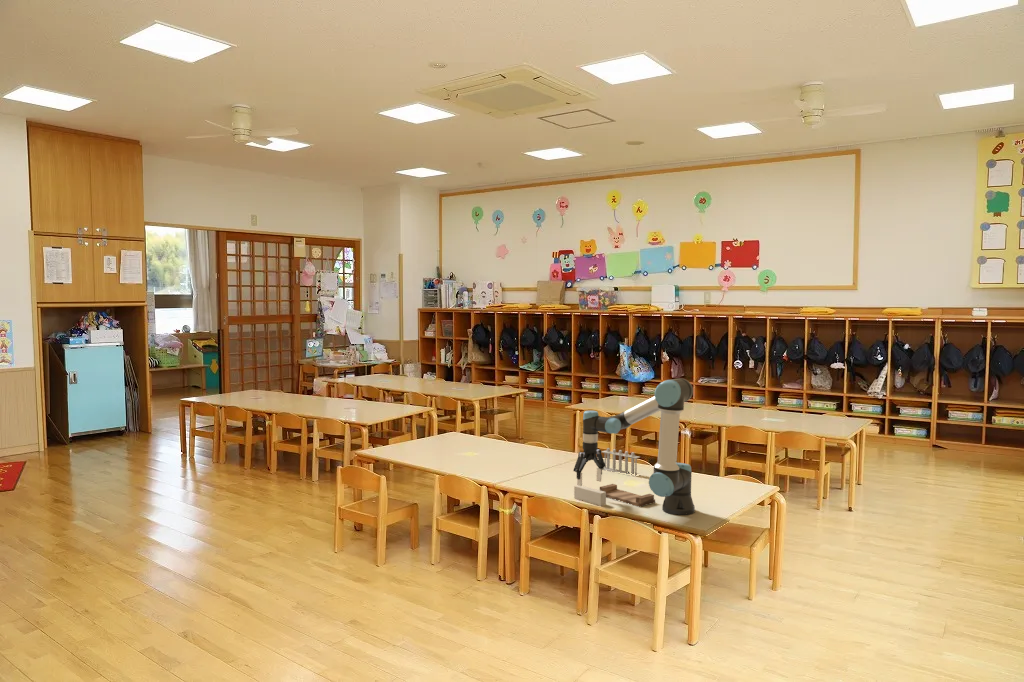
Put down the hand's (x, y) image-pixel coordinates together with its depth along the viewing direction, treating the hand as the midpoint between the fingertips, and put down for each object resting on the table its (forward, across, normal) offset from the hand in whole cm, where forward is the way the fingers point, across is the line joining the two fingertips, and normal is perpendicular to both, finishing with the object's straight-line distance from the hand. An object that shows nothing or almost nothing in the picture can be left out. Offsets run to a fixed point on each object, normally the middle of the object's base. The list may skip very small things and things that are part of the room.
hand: (589, 483), depth 357 cm
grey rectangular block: (+9, 0, +1) cm, 9 cm away
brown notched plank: (+9, -18, +8) cm, 22 cm away
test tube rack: (+10, -57, -32) cm, 66 cm away
